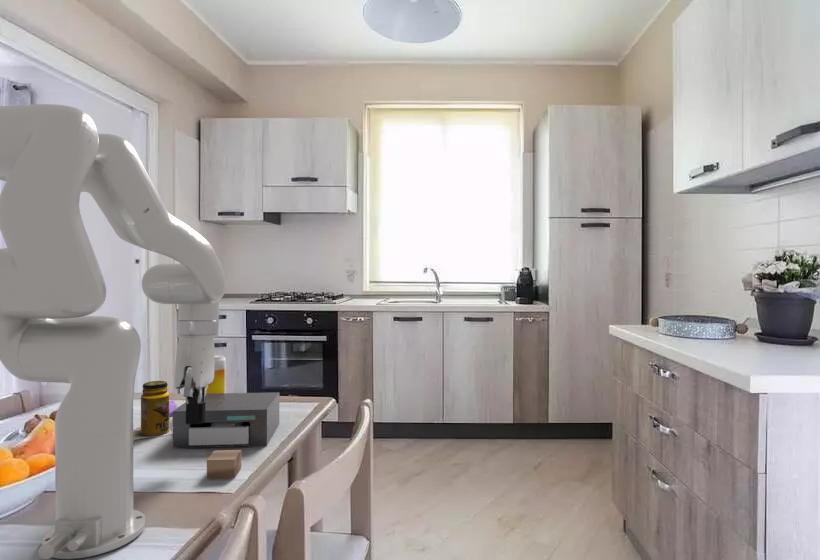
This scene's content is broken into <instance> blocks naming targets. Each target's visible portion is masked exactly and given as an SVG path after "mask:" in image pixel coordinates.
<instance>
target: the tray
mask: <svg viewBox="0 0 820 560" xmlns="http://www.w3.org/2000/svg"><path fill="white" fill-rule="evenodd" d="M249 440H250V422H243V427H211V422H210V423H207V424H206V425H205V426H204V427H202V428H190V429H189V445H223V444H248V443H249Z"/></svg>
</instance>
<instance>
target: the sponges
mask: <svg viewBox="0 0 820 560" xmlns="http://www.w3.org/2000/svg"><path fill="white" fill-rule="evenodd" d="M178 407H179V406H177V404H176V402H175V400H174V399H173V400H169V418H170V417H173V411H174V410H175V409H177V408H178Z"/></svg>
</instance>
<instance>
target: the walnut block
mask: <svg viewBox="0 0 820 560" xmlns="http://www.w3.org/2000/svg"><path fill="white" fill-rule="evenodd" d="M241 470H242V449H232V450H231V449H230V450H229V449H226V450H223V449H222V450H214V451H213V452H212V453H211V455H209V456H208V458H207V459H206V480H218V479H224V480H225V479H235V478H236V477H237V476H238V474H239V473H240V471H241Z"/></svg>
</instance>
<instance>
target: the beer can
mask: <svg viewBox="0 0 820 560" xmlns="http://www.w3.org/2000/svg"><path fill="white" fill-rule="evenodd" d="M226 359H227V358H226V357H225V355H223V354H215V369H214V380H213V382H212V383H210V384H209V385H208V388H207V391H206V394H214V393H227V360H226Z"/></svg>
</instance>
